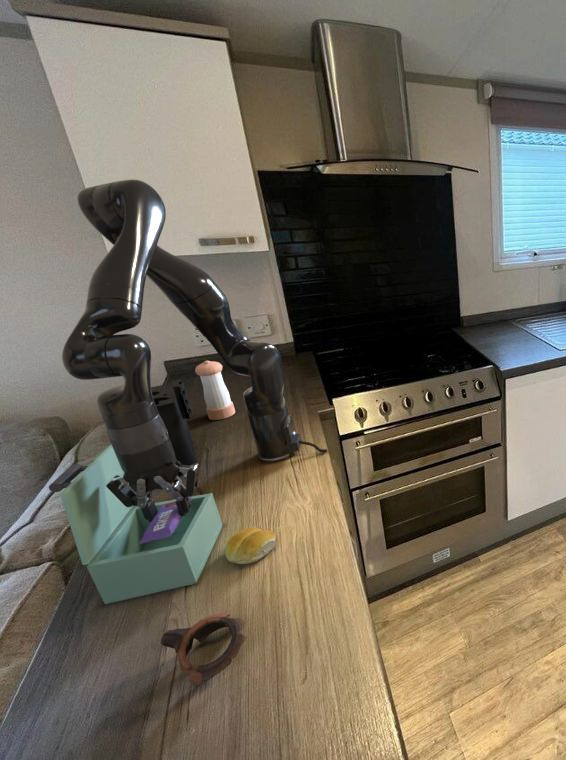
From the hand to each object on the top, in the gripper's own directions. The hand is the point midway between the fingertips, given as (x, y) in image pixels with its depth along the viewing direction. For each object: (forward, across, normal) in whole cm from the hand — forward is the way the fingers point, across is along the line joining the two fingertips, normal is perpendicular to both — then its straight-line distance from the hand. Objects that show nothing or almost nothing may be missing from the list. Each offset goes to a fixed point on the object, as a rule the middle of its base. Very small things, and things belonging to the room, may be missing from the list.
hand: (170, 515), depth 85 cm
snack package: (+1, 0, -1) cm, 2 cm away
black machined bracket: (+11, -15, +42) cm, 46 cm away
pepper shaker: (+11, -12, +67) cm, 69 cm away
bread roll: (+11, +12, -2) cm, 17 cm away
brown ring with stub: (+11, +11, -25) cm, 30 cm away
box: (+11, -3, 0) cm, 11 cm away
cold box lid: (-6, -8, 0) cm, 10 cm away
